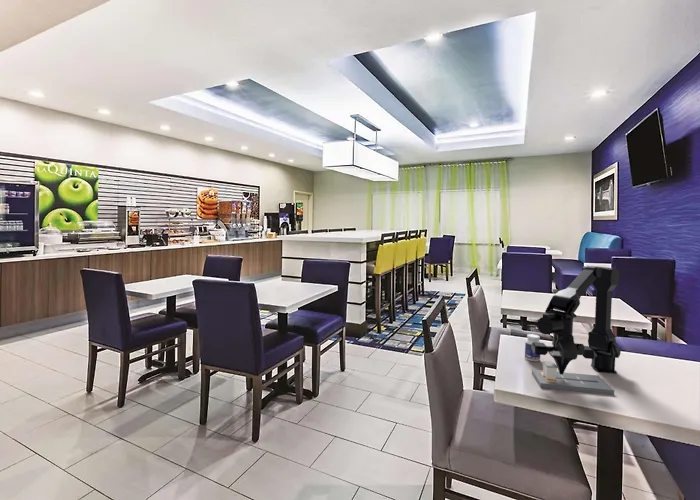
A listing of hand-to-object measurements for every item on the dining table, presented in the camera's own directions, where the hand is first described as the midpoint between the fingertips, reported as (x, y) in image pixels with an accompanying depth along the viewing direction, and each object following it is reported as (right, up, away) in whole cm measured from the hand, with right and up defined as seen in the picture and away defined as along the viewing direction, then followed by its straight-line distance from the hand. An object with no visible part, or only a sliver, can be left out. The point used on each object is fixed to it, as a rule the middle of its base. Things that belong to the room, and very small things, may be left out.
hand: (561, 374), depth 127 cm
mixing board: (+3, -3, 0) cm, 4 cm away
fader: (-4, -1, +1) cm, 4 cm away
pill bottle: (+1, -2, +23) cm, 23 cm away
